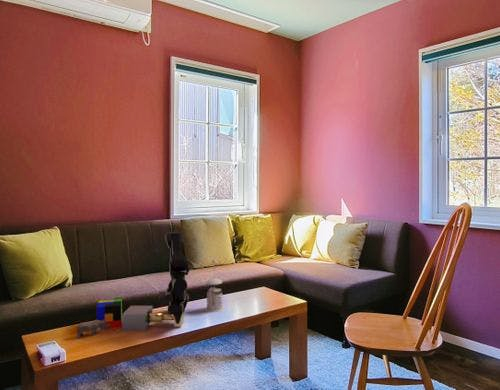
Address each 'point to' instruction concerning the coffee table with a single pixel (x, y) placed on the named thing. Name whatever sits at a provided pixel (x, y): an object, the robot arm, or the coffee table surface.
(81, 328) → the rhino figurine
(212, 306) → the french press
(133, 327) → the housing
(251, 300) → the coffee table surface
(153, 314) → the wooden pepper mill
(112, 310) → the puzzle toy
